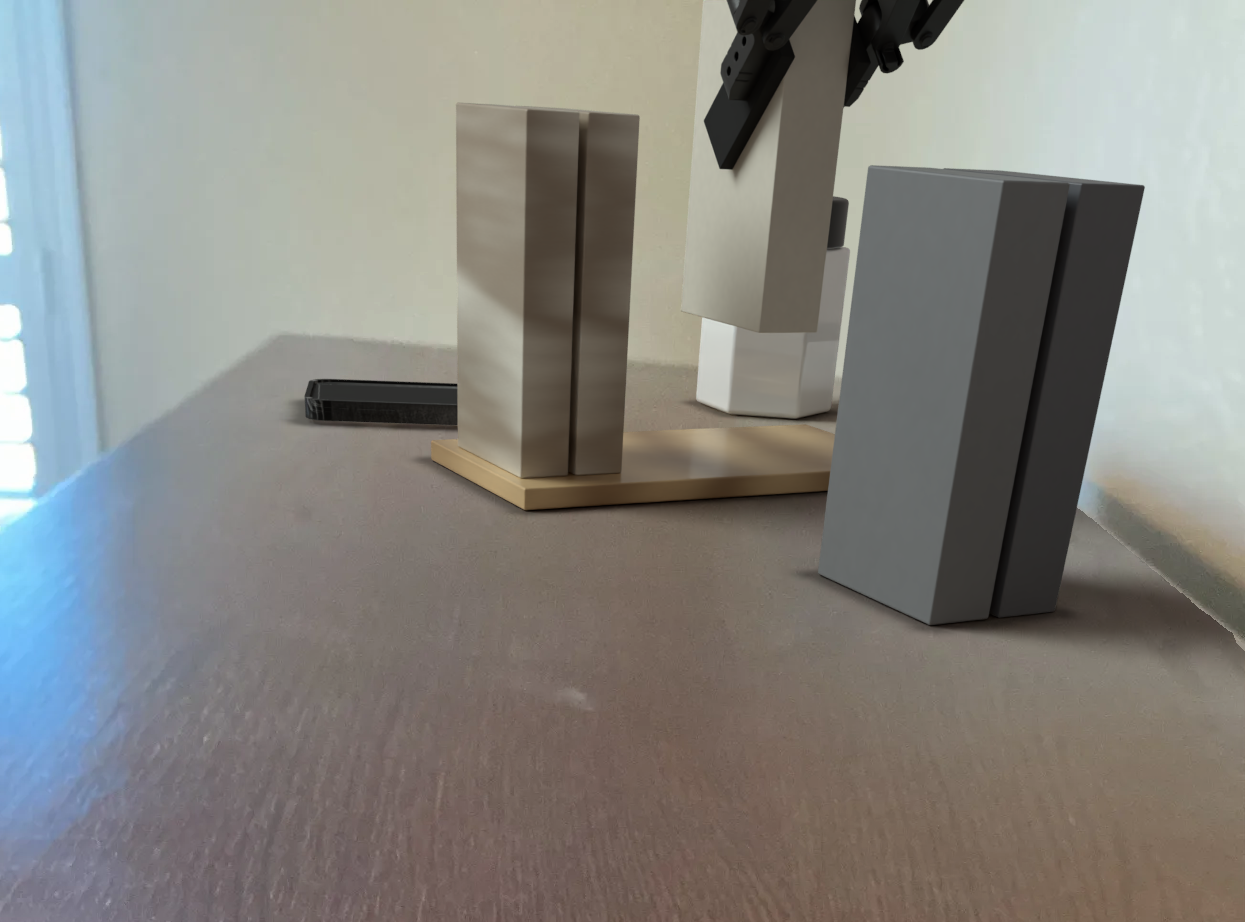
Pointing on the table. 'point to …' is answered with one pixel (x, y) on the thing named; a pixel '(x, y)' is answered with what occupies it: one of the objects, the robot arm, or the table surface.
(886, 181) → the grey books
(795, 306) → the tall off-white box
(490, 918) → the table surface
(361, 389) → the phone
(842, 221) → the jar
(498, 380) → the book rack
